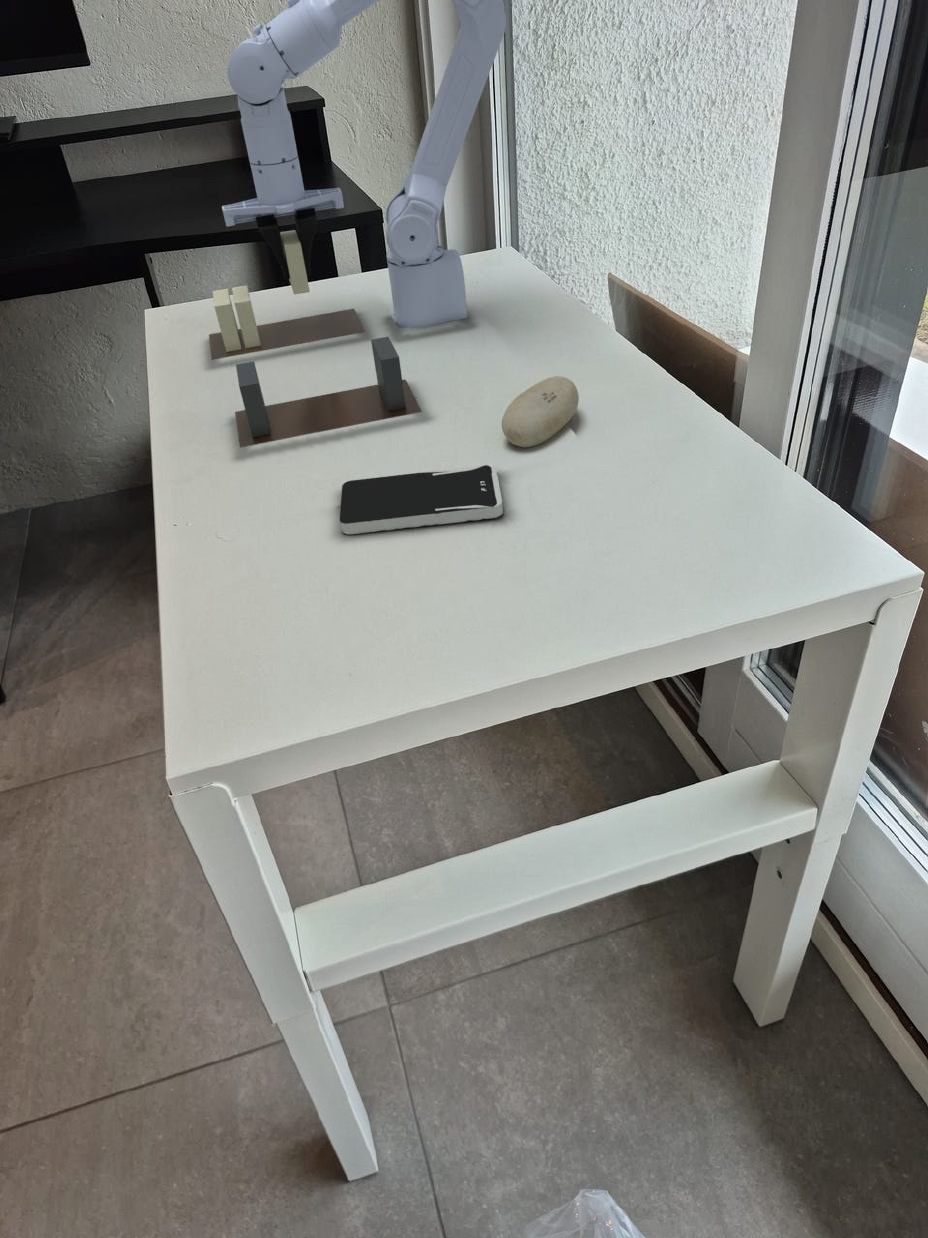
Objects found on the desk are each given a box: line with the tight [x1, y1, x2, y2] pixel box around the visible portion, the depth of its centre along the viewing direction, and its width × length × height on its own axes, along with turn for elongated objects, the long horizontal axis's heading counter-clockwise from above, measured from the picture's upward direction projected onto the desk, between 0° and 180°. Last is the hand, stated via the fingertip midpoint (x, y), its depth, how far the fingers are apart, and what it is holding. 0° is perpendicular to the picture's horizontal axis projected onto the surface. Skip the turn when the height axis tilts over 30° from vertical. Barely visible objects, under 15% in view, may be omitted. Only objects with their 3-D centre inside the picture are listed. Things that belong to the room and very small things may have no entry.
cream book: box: [280, 229, 311, 295], centre depth 114 cm, size 2×6×6 cm, turn 15°
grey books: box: [235, 336, 406, 438], centre depth 99 cm, size 17×6×6 cm, turn 105°
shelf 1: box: [208, 308, 366, 361], centre depth 120 cm, size 20×9×1 cm, turn 105°
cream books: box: [212, 284, 261, 352], centre depth 117 cm, size 4×6×6 cm
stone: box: [501, 375, 580, 449], centre depth 93 cm, size 6×6×12 cm
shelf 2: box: [234, 378, 423, 449], centre depth 101 cm, size 20×9×1 cm, turn 105°
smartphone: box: [339, 464, 504, 536], centre depth 85 cm, size 8×1×15 cm
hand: (297, 274), depth 115 cm, fingers closed on cream book, 2 cm apart
